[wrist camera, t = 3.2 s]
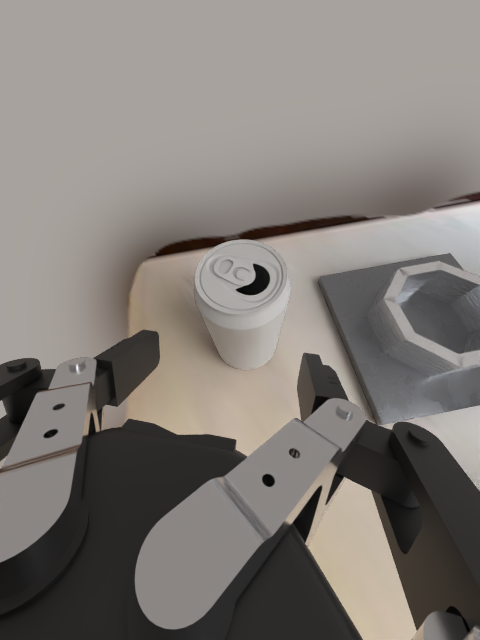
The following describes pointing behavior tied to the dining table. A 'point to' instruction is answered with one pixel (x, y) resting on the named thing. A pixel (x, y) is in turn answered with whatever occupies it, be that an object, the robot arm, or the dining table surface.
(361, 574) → the dining table surface
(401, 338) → the collar stand
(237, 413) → the dining table surface
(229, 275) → the beverage can
